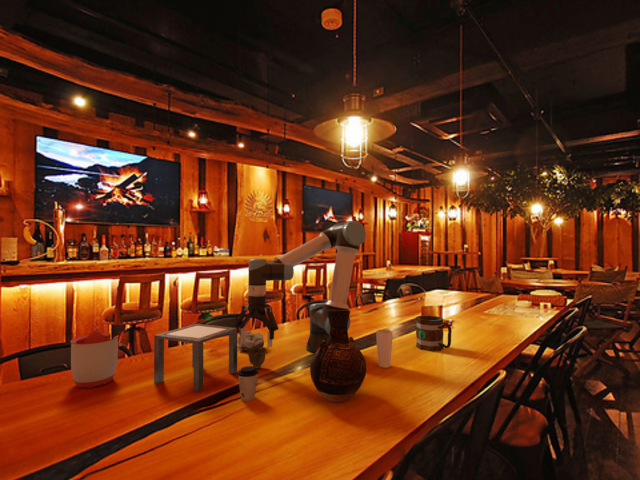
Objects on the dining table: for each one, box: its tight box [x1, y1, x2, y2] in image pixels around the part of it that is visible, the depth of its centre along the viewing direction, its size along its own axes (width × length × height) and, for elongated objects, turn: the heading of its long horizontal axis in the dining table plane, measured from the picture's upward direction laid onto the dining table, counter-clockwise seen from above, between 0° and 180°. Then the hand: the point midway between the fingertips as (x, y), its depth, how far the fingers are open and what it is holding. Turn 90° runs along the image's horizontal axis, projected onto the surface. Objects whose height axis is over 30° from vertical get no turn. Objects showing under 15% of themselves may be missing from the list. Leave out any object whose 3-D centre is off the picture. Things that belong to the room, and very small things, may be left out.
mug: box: [415, 315, 453, 352], centre depth 175 cm, size 20×14×15 cm
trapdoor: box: [166, 326, 227, 339], centre depth 138 cm, size 17×16×1 cm
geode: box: [237, 331, 265, 352], centre depth 177 cm, size 17×9×15 cm
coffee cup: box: [237, 365, 259, 402], centre depth 119 cm, size 7×7×10 cm
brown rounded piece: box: [247, 347, 267, 370], centre depth 148 cm, size 8×7×8 cm
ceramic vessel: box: [309, 309, 367, 403], centre depth 119 cm, size 21×18×30 cm
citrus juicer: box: [70, 329, 123, 389], centre depth 134 cm, size 16×17×20 cm
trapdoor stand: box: [153, 323, 238, 393], centre depth 138 cm, size 22×22×18 cm
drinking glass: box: [375, 329, 393, 369], centre depth 150 cm, size 7×7×15 cm
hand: (256, 345), depth 148 cm, fingers open, 13 cm apart
